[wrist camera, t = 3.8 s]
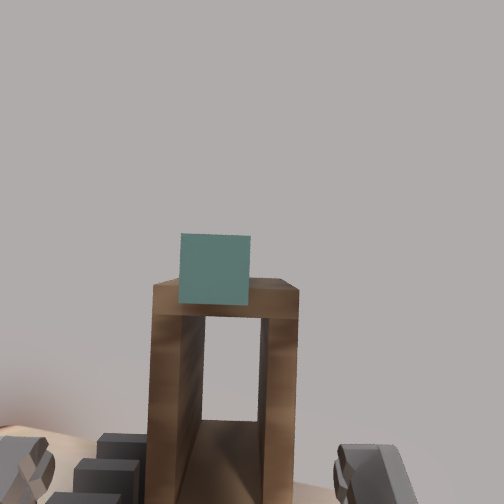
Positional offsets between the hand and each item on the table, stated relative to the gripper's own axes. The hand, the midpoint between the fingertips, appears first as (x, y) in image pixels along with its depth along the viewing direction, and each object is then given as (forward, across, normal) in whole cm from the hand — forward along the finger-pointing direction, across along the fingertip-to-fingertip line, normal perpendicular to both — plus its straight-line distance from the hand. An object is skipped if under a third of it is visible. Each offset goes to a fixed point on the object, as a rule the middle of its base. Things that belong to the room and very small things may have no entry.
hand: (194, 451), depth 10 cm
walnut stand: (+7, 0, +30) cm, 31 cm away
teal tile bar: (+15, 0, +5) cm, 16 cm away
